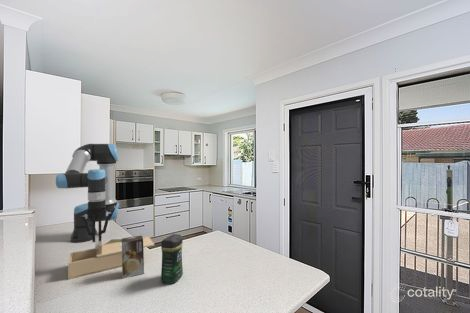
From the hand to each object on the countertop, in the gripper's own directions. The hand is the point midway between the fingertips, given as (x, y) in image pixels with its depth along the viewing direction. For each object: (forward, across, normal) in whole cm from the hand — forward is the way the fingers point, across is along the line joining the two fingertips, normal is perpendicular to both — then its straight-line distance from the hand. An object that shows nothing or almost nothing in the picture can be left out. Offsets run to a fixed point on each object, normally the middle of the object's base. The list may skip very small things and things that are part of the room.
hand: (96, 248), depth 110 cm
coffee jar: (+9, +28, -32) cm, 44 cm away
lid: (+2, +13, 0) cm, 13 cm away
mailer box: (+9, +2, 0) cm, 9 cm away
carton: (+10, +7, +20) cm, 23 cm away
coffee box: (+9, +14, -17) cm, 24 cm away
